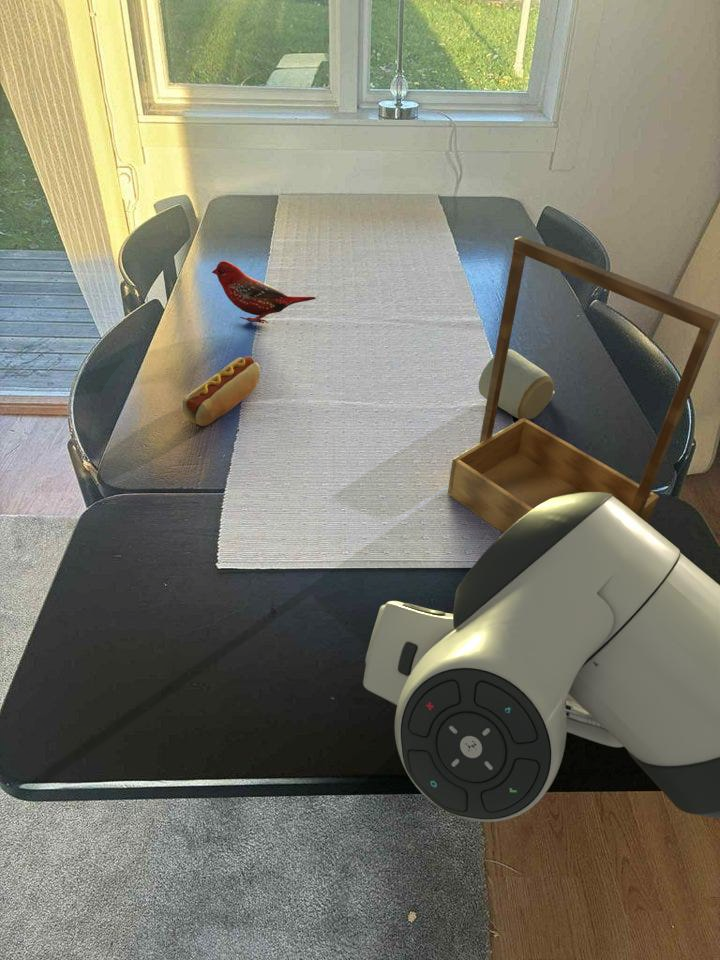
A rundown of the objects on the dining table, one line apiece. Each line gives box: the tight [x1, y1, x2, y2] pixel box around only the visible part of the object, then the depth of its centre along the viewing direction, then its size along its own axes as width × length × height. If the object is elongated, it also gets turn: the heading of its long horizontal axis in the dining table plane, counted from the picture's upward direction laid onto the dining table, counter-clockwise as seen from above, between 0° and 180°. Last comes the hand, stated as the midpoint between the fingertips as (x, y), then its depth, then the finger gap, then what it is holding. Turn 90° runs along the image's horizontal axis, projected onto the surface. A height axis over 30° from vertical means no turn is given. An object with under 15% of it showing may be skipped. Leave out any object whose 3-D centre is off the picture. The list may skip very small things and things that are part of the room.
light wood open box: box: [447, 418, 660, 534], centre depth 82 cm, size 19×13×6 cm
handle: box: [478, 236, 720, 517], centre depth 74 cm, size 21×1×30 cm, turn 41°
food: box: [182, 355, 261, 427], centre depth 97 cm, size 14×6×5 cm, turn 152°
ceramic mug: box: [478, 348, 556, 421], centre depth 98 cm, size 11×8×8 cm
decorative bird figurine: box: [211, 260, 317, 324], centre depth 113 cm, size 3×18×10 cm, turn 74°
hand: (503, 656), depth 60 cm, fingers open, 6 cm apart
